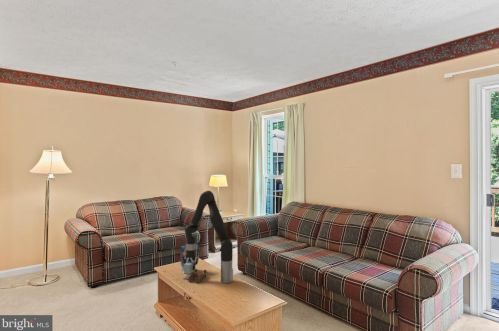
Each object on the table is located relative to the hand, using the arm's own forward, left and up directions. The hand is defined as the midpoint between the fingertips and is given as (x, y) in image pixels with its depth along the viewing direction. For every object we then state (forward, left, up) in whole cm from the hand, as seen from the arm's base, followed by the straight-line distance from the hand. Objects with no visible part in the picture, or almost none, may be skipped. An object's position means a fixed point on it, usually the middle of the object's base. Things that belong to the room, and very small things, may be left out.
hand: (190, 269), depth 250 cm
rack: (-7, +2, -7) cm, 10 cm away
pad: (0, 0, -7) cm, 7 cm away
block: (0, +3, -1) cm, 3 cm away
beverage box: (+9, -14, -7) cm, 18 cm away
